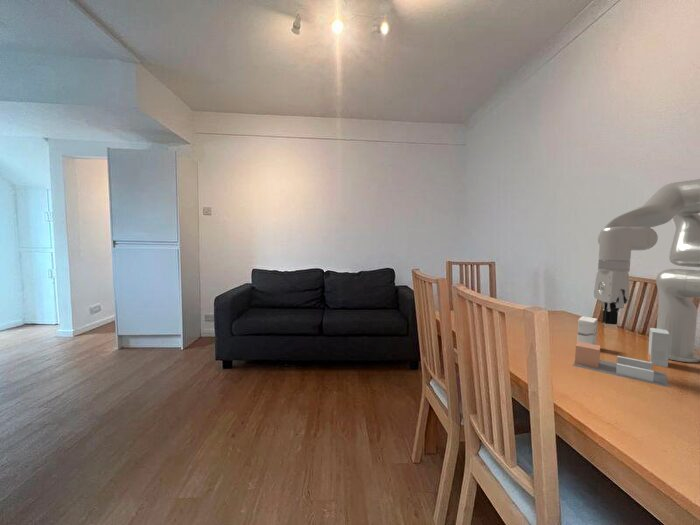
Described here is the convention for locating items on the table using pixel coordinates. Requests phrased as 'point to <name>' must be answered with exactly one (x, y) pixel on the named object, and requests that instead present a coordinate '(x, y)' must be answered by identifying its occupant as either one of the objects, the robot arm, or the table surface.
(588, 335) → the ink box
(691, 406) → the table surface
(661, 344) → the skincare box
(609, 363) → the channel base
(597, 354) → the block
